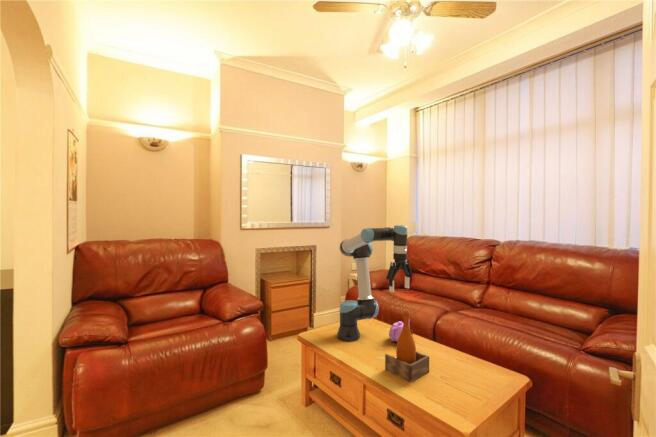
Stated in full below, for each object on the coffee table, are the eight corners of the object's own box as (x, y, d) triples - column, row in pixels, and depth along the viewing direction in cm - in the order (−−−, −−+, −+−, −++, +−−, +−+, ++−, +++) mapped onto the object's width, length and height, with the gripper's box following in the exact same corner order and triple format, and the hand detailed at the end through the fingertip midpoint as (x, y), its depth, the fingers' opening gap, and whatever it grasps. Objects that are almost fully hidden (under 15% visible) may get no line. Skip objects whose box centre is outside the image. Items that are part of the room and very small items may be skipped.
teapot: (401, 333, 214) (401, 315, 214) (419, 340, 203) (419, 320, 203) (382, 341, 201) (382, 322, 201) (400, 348, 190) (400, 328, 190)
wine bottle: (416, 373, 158) (416, 314, 157) (396, 371, 160) (396, 313, 159) (415, 364, 168) (415, 308, 167) (396, 362, 170) (396, 307, 169)
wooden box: (385, 369, 165) (385, 354, 164) (403, 360, 175) (403, 346, 175) (410, 382, 152) (410, 366, 152) (429, 372, 162) (429, 356, 162)
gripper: (390, 255, 166) (390, 295, 167) (419, 251, 181) (418, 287, 182) (380, 253, 172) (379, 292, 173) (408, 250, 187) (407, 285, 188)
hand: (399, 290), depth 177 cm, fingers open, 13 cm apart
